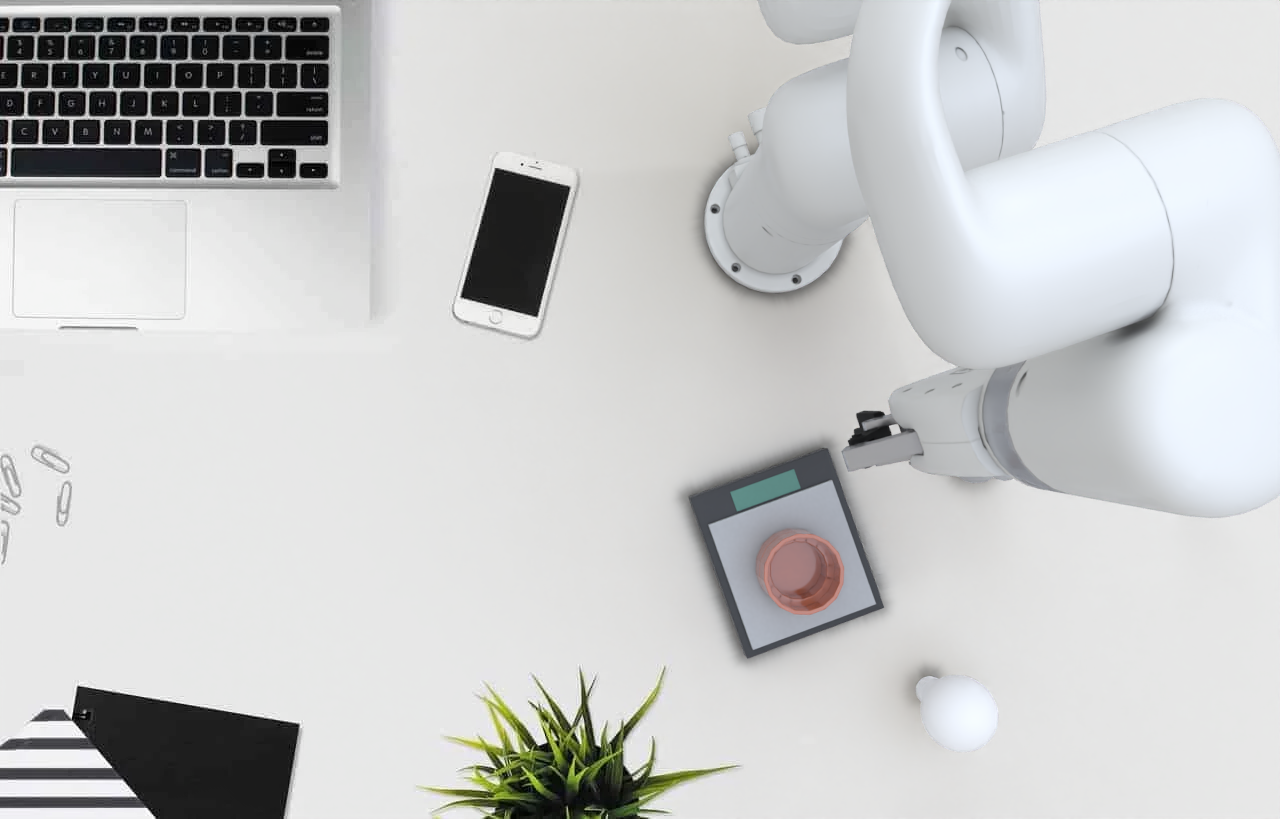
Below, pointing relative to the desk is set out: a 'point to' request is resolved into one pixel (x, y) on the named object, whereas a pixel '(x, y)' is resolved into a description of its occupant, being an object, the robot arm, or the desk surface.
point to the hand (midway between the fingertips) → (937, 410)
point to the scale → (767, 506)
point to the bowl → (799, 571)
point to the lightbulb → (957, 712)
